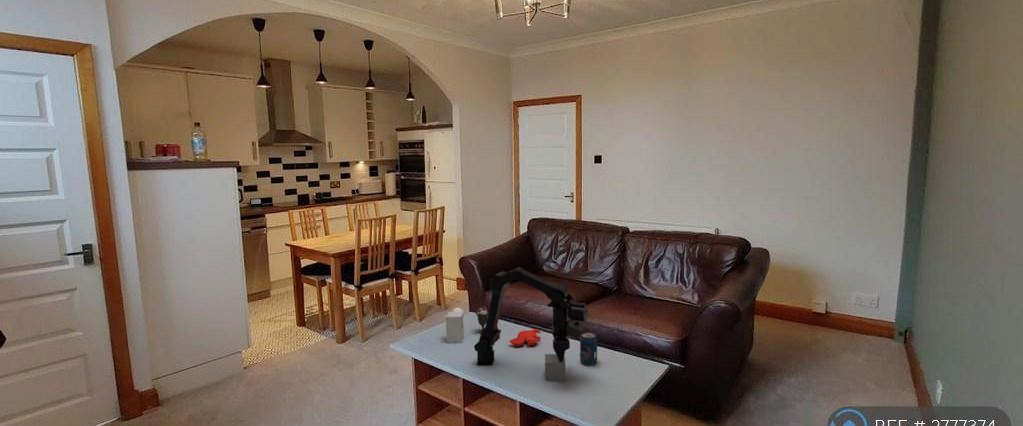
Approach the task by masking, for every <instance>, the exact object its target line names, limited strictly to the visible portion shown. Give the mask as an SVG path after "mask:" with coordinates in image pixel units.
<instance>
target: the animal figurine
mask: <svg viewBox="0 0 1023 426" xmlns="http://www.w3.org/2000/svg"><path fill="white" fill-rule="evenodd" d="M538 334H542V332H541V330H538V329H537V328H533V329H530V330H521V331H519V332H518V334H517V337H515V338H512V339H510V340H509V341H508V342H509V343H510V344H511V345H513V346H515V347H521V346H522V345H523V344H524V343H527V345H526V347H527V346H528V347H530V346H535V345H536V344H537V343H540V340H541V338H542V337H541V336H539V335H538Z"/></svg>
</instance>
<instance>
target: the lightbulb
mask: <svg viewBox="0 0 1023 426" xmlns="http://www.w3.org/2000/svg"><path fill="white" fill-rule="evenodd" d="M464 311H465V310H463V308H462V307H455V308H453V309H452V311H451V312H463V318H464V317H465V312H464Z"/></svg>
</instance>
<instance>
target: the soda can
mask: <svg viewBox="0 0 1023 426" xmlns="http://www.w3.org/2000/svg"><path fill="white" fill-rule="evenodd" d="M596 336H597V335H596V334H595V333H593V332H582V335H581V337H580V338H579V353H580V354H579V359H580V362H581V364H582V365H583V366H589V367H592V366H595V365H596V363H597V362H598V338H597V337H596Z"/></svg>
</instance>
